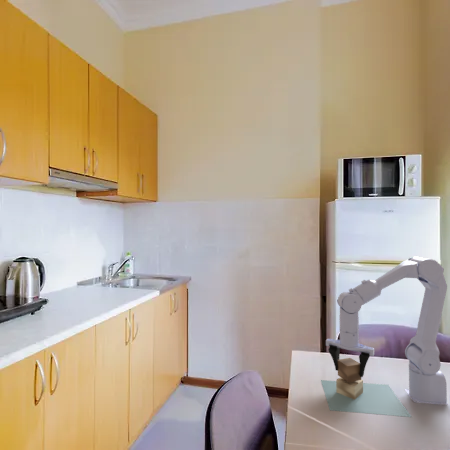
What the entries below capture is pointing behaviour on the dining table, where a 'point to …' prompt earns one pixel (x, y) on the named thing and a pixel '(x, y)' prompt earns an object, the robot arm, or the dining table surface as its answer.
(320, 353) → the dining table surface
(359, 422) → the dining table surface
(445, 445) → the dining table surface
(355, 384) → the maple block
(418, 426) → the dining table surface
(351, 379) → the walnut cube
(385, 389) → the mat
